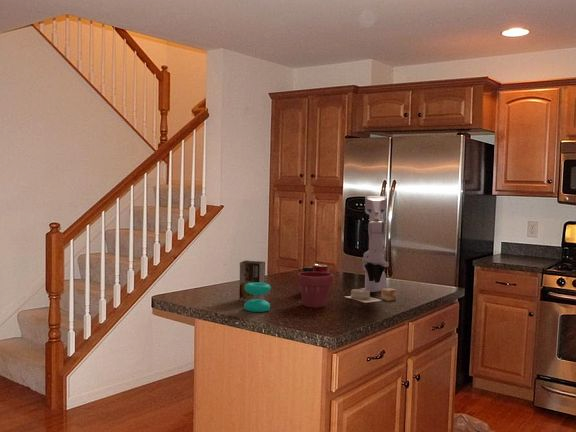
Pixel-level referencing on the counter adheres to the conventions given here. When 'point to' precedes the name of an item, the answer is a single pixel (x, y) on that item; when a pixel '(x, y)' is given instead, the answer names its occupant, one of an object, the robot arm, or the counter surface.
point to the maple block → (388, 294)
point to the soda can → (320, 268)
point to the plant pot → (314, 288)
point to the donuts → (257, 304)
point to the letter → (366, 299)
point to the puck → (360, 294)
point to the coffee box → (251, 278)
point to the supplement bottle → (307, 269)
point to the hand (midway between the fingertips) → (374, 281)
